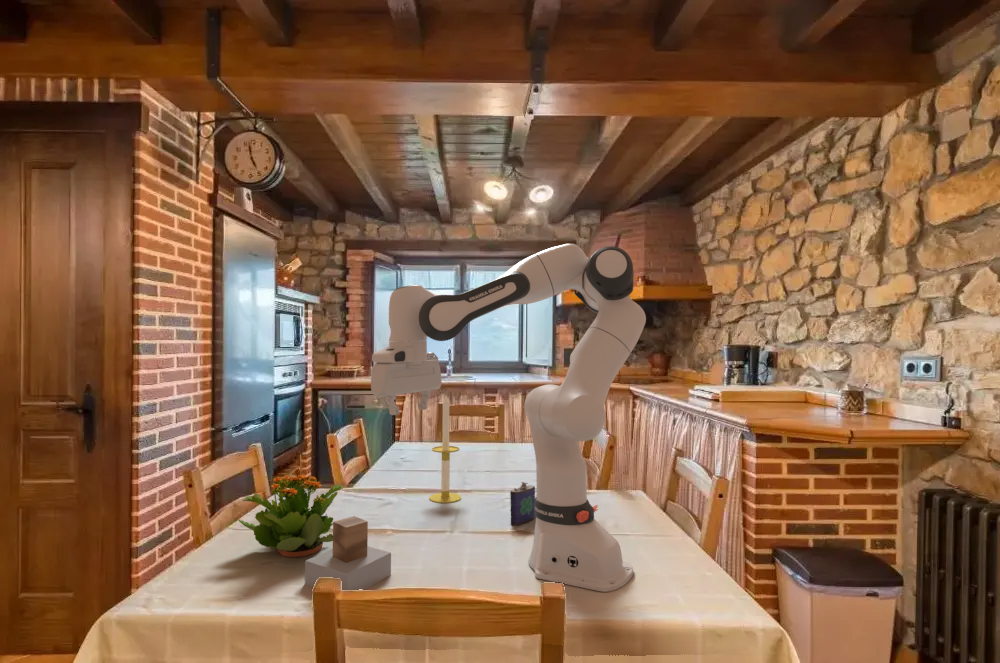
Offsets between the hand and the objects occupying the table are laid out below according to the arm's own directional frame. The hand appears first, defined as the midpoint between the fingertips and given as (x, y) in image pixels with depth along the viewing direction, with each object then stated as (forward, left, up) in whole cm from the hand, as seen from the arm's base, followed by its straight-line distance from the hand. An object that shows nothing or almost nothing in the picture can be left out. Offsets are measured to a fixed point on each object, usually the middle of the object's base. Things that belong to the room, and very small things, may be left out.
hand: (409, 412), depth 127 cm
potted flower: (+19, +16, -32) cm, 41 cm away
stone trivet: (-2, +19, -33) cm, 38 cm away
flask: (-11, -32, -32) cm, 47 cm away
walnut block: (-2, +19, -27) cm, 33 cm away
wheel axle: (+20, -35, -32) cm, 51 cm away
